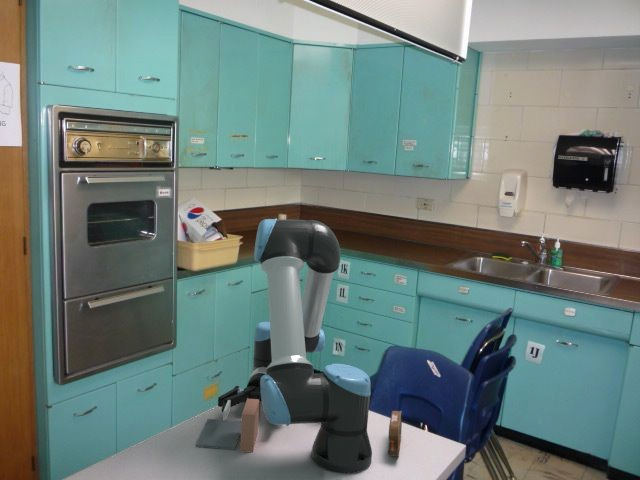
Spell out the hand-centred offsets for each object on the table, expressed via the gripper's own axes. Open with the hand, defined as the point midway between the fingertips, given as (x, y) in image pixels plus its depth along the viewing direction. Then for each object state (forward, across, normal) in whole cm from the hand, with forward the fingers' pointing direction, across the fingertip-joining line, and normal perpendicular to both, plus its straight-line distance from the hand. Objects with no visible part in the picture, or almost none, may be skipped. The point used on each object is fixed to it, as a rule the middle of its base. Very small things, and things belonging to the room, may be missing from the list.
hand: (250, 417), depth 150 cm
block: (+2, 0, -6) cm, 6 cm away
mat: (-1, +8, -6) cm, 10 cm away
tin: (-1, -38, -6) cm, 39 cm away
